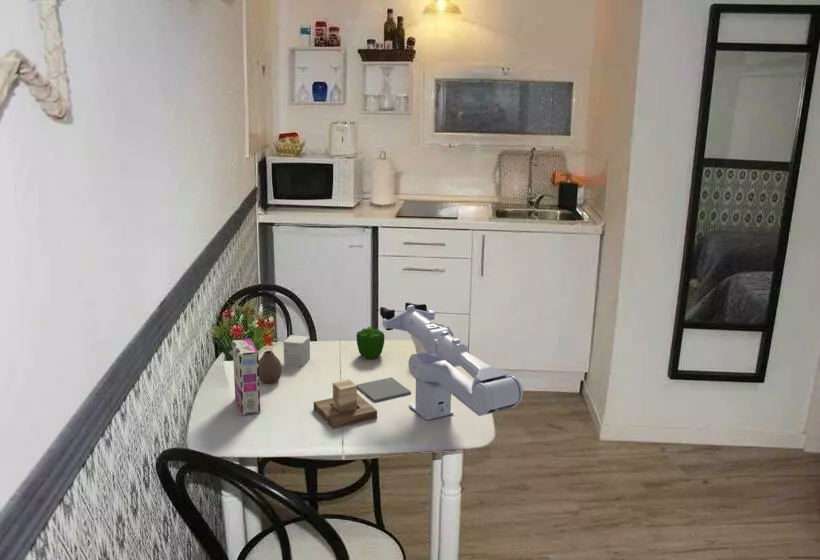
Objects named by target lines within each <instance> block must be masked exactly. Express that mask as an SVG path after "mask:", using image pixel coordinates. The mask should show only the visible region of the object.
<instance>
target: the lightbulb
mask: <svg viewBox="0 0 820 560" xmlns="http://www.w3.org/2000/svg"><path fill="white" fill-rule="evenodd" d="M410 338H411V340H412V342H413V344H414V347H415V353H416V354H420V353H425V352H426V351H425V349H424V347H423V344H422V342H421V341H419V340H418V339H417V338H415V337H414V336H413V335H411V334H410Z"/></svg>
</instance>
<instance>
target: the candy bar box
mask: <svg viewBox="0 0 820 560" xmlns="http://www.w3.org/2000/svg"><path fill="white" fill-rule="evenodd" d="M232 359H233V377H234V382H233V383H234V399H235V401H236V404H237V406H238V408H239V412H240V413H241V416H248V415H247V414H249V415H256V414H260V413H261V394H260V391H261V390H260V388H261V387H260V380H259V360H260V357H259V352H258V350H257V348H256V347H255V345H254V343H253V341H252V339H251V338H244V339H238V340H237V339H235V340H232ZM255 413H256V414H255Z"/></svg>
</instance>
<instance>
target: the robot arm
mask: <svg viewBox="0 0 820 560" xmlns="http://www.w3.org/2000/svg"><path fill="white" fill-rule="evenodd" d="M404 303H405V306H404V311H402V312H400V313H399V314H397V315H396V314H395V313H396V310H395V309H389V308H387V307H385V306H380V307H379V314H380V316H381V318H382V326H383V328H384V329H385V330H386V331H393V330H399V331H403V332H406V333H408V334H410V336H411V335H413V336H414V337H415V338H417V339H418V340H419V341H421V342H422V344H423V347H424V349H425V351H426V352H425V353H420V354H417V353H414V354H413V353H412V354H411V355H410V357H409V359H408V370H409V372H410V375H411V376H412V377H413V378H414V379H415V402H412V403H408V407H409V408H411V409H412V410H413V411H414V412H415V413H417V414H418V415H419V416H420V417H422V418H424V419H425V420H427V421H430V420H434V419H437V418H442V417H445V416H450V415H453V414H454V412H455V411H453V410H452V396H453V397H455V399H457V400H458V401H460V402H461V403H462V404H463V405H465V407H467V408H468V409H469V410H471V412H473V413H474V414H476V416H478V417H482V416H486V415H490V414H493V413H497V412H501V411H505V410H509V409H513V408H516V407H517V406H518V405H519V403H521V401H522V399H523V394H524V390H523V386H522V383H521V382H520V380H519V379H518V378H517V377H516V376H514V375H510V373H509V372H508V371H507V370H505V369H501V368H498V367H495V366H492V365H490V364H488V363H487V362H485V361H484V360H481V359H480V358H478V357H476V356H474V355H473V354H471V353H470V350H469V347H468V345H466V344H465V343H463V342H462V341H461V340H460V339H459V338H458V337H455V336H454V333H453V332H452V330H451V329H450V327H449V326H441V325H437V324H436V323H435V322H433V320H435V318H436V316H435V315H436V313H435V311H433V310H431V309H429V310H428V307H427V304H425V303H423V304H418V303H417V304H416V303H413V302H412V303H411V302H404ZM456 367H461V368H462V369H463V370H464V371H465V372H467V374H468V375H469V376H470V377H472V378H473V380H472V379H471V378H469V377H468V376H466V375H465V374H464V373H463V372H461V371H460V370H459V369H458V368H456Z"/></svg>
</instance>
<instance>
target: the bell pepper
mask: <svg viewBox="0 0 820 560" xmlns="http://www.w3.org/2000/svg"><path fill="white" fill-rule="evenodd" d="M355 338H356V345H357V349H358V353H359V355H360V356H361V357H363V358H364V359H367V360H374V359H376V358H378V357H380V356H381V354H382V352H383V348H384V345H385V333H384V332H383V331H381V330H380V329H379V328H372V327H371V326H370V325H369V326H367V327H366V328H362V329H361V330H360V331H357V332H356V337H355Z"/></svg>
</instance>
